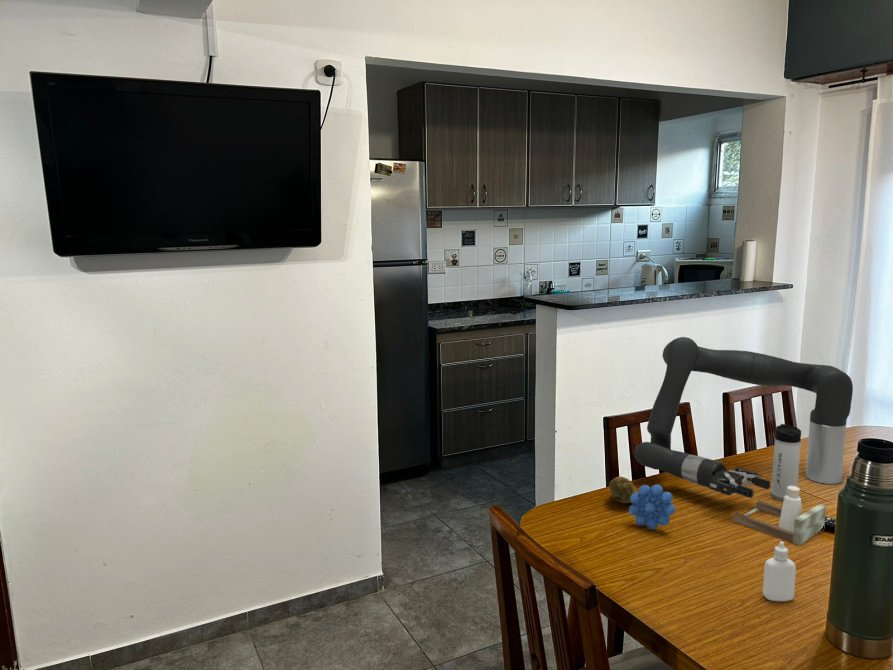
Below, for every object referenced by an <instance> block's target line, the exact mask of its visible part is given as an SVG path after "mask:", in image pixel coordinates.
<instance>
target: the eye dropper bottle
mask: <svg viewBox="0 0 893 670" xmlns="http://www.w3.org/2000/svg"><path fill="white" fill-rule="evenodd" d="M788 557H789V549H788V548H787V547H785V543H784V541H779V544H778V545H777V546H774V554H773V556H772V557H771V558H768V559H767V560H766V561H765V562H764V570H763V584H762V595H763V596H764V597H765V598H766V600H768V601H773V602H787V601H788V602H789V601H792V600H794V597H795V584H796V573H797V572H796V571H797V566H796V564H795V563H794V561H793V560H792V559H790V558H788Z"/></svg>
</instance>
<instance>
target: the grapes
mask: <svg viewBox="0 0 893 670" xmlns="http://www.w3.org/2000/svg"><path fill="white" fill-rule="evenodd" d="M630 501H631V505H630V506H628V507H629V508H628V512H629V514H630V515H631V516H634V517H635V520H634V521H635V524H636V525H638V526H640V527H641V526H644V525H646V527H647V528H648V529H649V530H656V529H657V528H658V527H659V525H660V526H663V527H664V526H667V525H668V524H670V522H671V521H670V520H671V518H670V516H672V515H674V514H675V512H676V506H675V505H674V504H673V503H672V501H673V494H672V493H671V492H669V491H664V489H663V487H662V486H661V485H660V484H654V485H652V486H651V487H650V486H649V485H647V484H644V485H641V486H639V488H638V492H637V493H633V494H632V495H631V497H630Z"/></svg>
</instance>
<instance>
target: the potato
mask: <svg viewBox="0 0 893 670" xmlns="http://www.w3.org/2000/svg"><path fill="white" fill-rule="evenodd" d="M608 486H609V492H610V495H611V496H612V498H613V501H614V502H619V503H621V504H630V503H631V504H632V502H631V501H630V497H631V495H632V494H633V493H638V492H637V489H636V487H635V485H634V483H633V481H631V480H630V479H629V478H626V477H624V476H616V477H614V478H613V479H611V480H610V482H609V485H608Z"/></svg>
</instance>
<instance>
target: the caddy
mask: <svg viewBox="0 0 893 670" xmlns="http://www.w3.org/2000/svg"><path fill="white" fill-rule="evenodd" d="M760 510H761V512H763V511H764V513H767V514H770V515H773V514H774V515H773V516H776V517H779V516H781V511H782V507H781V506H777V505H775V504H772V503H769V502H767V501H766V502H765V501H762V500H760V499H759V500H757V501H756V504H755V508H753V509H752V510H749V511H748V512H745V513H744V514H742V513H739V512H737V511H736V512H735V513H733V514H732V518H733V519H732V522H733V523H736V524H739V525H742V526H744V527H748V528H750V529H754V530H756V531H759V532H761V533H764V534H767V535H770V536H772V537H776V538H778V539H781V540H784V541H786V542H789V543H792V544H796V545H798V546H800V545H802V544H804V543H806V542H807V541H808V540H810V539H811V538H812V536H813V537H814V536H816V535H817V534H819V533H820V532H821V531H820V530H821V529H822V528H823V526H824V527H825V522H826V510H827V506H826V505H824V504H821V503H819V504H817V505H815V506H813V508H810V509H809V510H807V511H806V512H804V513H802V515H801V516H799V517H797V518H796V519H795V520H794V532H792V531H789V530H786V529H783V528H780V527H779V526H777V525H774V524H772V523H769V522H765V521H762V520H759V519H756V518H753V517H750V516H751V515H753V514H754V513H756V512H758V511H760ZM819 531H820V532H819ZM818 532H819V533H818ZM815 534H816V535H815ZM809 538H810V539H809Z"/></svg>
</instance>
